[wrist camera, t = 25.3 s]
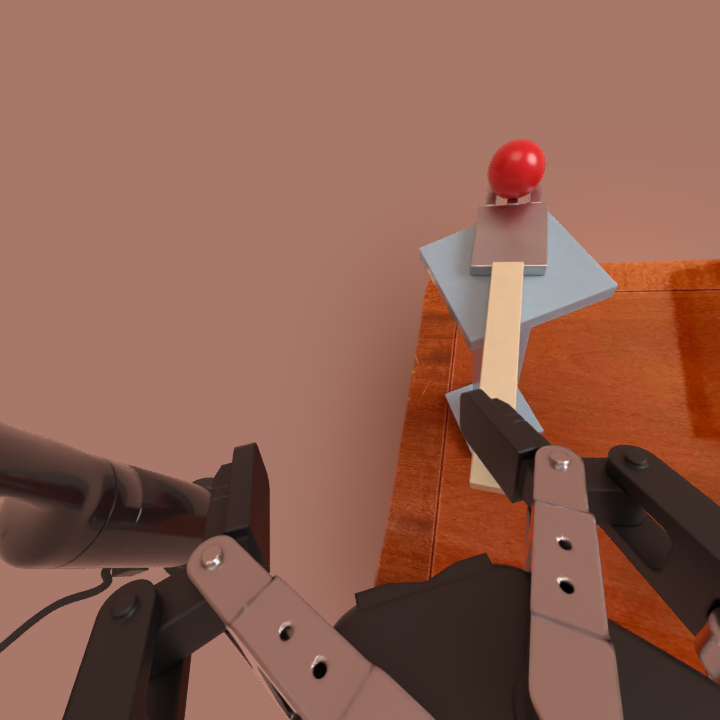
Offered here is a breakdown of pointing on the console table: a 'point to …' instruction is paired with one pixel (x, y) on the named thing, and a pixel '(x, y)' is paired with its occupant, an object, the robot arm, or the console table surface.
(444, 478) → the console table surface
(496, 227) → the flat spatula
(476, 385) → the low stand
